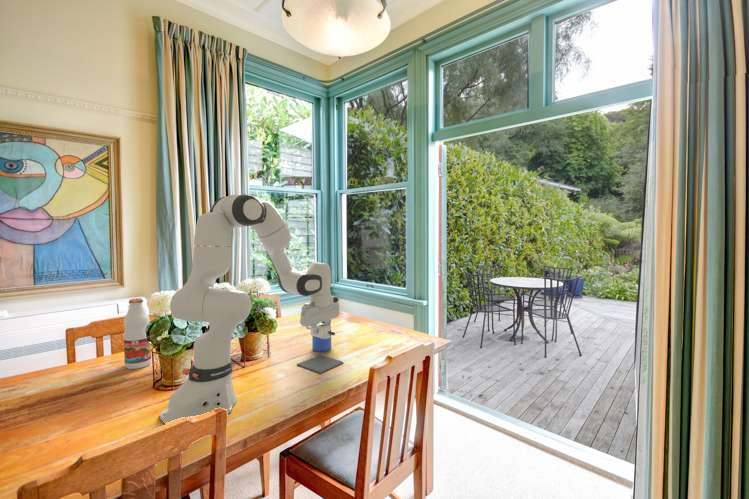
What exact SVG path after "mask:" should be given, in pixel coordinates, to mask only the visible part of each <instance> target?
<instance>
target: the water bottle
mask: <svg viewBox="0 0 749 499" xmlns="http://www.w3.org/2000/svg"><path fill="white" fill-rule="evenodd" d="M321 323H325V322H321ZM331 324H332V319H330V322H329V324H328V325H330V331H331V332H332V327H331V326H332V325H331ZM311 337H312V338H311V339H312V340H311V341H312V342H311V344H312V348H311V349H312V351H313V352H316V353H324V352H329V351H331V350H332V335H330V338H329V339H322V338H318V337H315V336H312V335H311Z"/></svg>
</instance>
